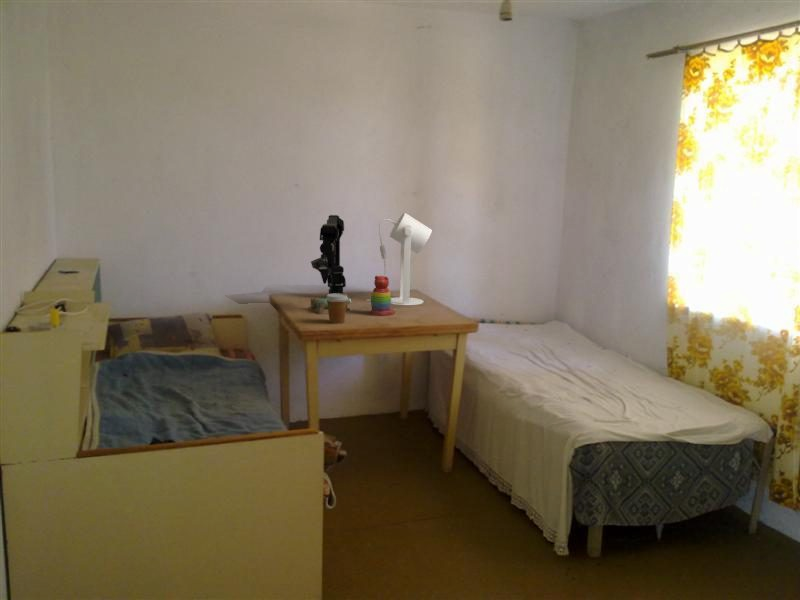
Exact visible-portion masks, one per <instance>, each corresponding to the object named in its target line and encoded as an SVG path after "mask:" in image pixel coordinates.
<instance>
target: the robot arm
mask: <svg viewBox="0 0 800 600" xmlns="http://www.w3.org/2000/svg"><path fill="white" fill-rule="evenodd" d="M344 222H345V221H344V220H343V219H342V218H341V217H340V215H338V214H330V215H328V219H327V220H326V223H324V224H322V226H321V227H320V229H319V231H320V232H319V241H322V243H321V244H320V245H319V246H320V247H319V250H320V253H321V254H320V257H318V258H315V259H313V260H311V261H310V264H311V267H312V268H313V269H315V270H317V272H319V273H320V276H321V280H322V283H323V285H325V284H327V287H328V288H329V289H328V294H333V293H341V294H344V288H346V285H347V283H346V282H347V281H346V277H345V275H344V272H345V271H344V267H343V266H342V265H341V241H340V240H341V237H342V236H343V234H344V231H345V223H344Z"/></svg>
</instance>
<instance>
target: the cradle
mask: <svg viewBox="0 0 800 600" xmlns="http://www.w3.org/2000/svg"><path fill="white" fill-rule="evenodd" d="M316 301H317V299H316V298H311V299H310V306H308V307H307V309H308V310H309V309H310V310H309V311H311V310H312V311H311V312H313V311H314V313H316V314H318V315H321V314H322V313H324V314H329V312H328V308H325V309H324V302H318V309H317V307H316ZM350 311H351V308H349V307H348V304H346V311H345V312H350ZM322 315H323V314H322Z"/></svg>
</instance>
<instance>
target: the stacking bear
mask: <svg viewBox="0 0 800 600" xmlns="http://www.w3.org/2000/svg"><path fill="white" fill-rule="evenodd" d="M389 284H390V281H389V277H387V276H386V277H384V275H375V276H374V286H375V287H374V288H373V290H372V292H371V297H370V300H371V301H370V304H371V306H370V307H371V310H370V314H371V315H372V316H376V317H377V316H379V317H385V316H393V315H395V313H396V312H395V311H396V310H395V309H393V308H391V305H392V304H391V298H392V296H391V292H390V289H389V288H388V287H389Z"/></svg>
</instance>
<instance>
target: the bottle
mask: <svg viewBox="0 0 800 600" xmlns="http://www.w3.org/2000/svg"><path fill="white" fill-rule="evenodd" d="M351 299H352V298H348V299H347V305H351V304H352V300H351ZM318 302H324V309H325V308H328V304H327V299H326V298H320V299H316V307H317V309H318Z"/></svg>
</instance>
